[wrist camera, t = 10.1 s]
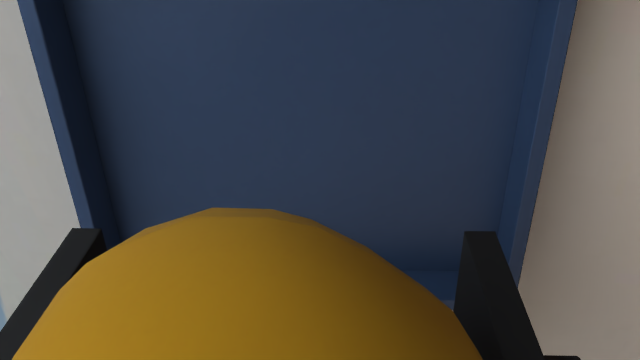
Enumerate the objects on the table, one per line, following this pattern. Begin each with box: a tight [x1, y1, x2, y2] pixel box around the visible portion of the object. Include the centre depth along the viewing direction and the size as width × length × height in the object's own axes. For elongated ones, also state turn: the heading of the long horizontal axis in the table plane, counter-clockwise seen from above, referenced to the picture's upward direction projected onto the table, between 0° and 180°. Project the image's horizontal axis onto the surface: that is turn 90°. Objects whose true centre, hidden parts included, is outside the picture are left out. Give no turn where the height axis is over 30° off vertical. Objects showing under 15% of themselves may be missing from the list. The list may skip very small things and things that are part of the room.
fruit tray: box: [17, 0, 578, 310], centre depth 22 cm, size 18×16×3 cm
